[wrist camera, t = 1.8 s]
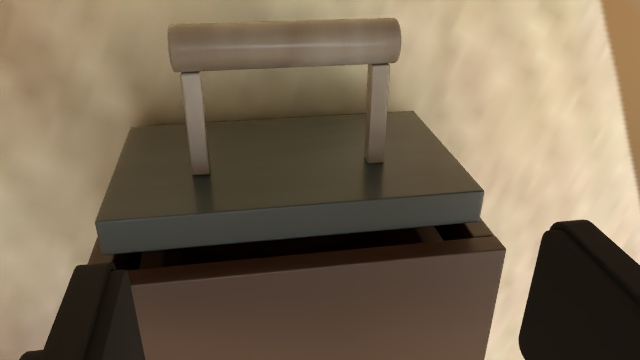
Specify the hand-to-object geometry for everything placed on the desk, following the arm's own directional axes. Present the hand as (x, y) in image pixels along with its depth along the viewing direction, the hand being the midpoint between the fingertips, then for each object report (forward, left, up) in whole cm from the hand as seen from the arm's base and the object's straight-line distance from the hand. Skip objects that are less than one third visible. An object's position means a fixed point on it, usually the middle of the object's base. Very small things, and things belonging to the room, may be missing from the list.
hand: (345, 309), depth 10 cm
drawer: (+6, 0, -14) cm, 15 cm away
